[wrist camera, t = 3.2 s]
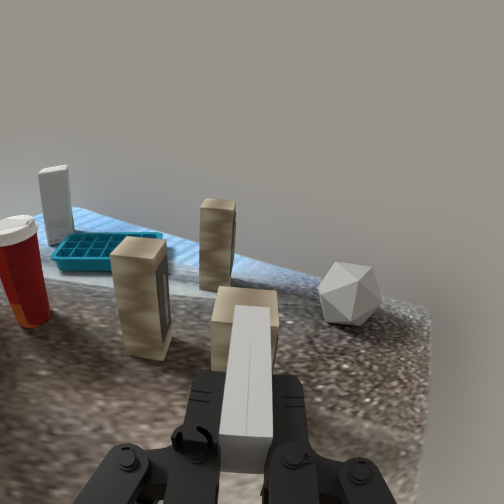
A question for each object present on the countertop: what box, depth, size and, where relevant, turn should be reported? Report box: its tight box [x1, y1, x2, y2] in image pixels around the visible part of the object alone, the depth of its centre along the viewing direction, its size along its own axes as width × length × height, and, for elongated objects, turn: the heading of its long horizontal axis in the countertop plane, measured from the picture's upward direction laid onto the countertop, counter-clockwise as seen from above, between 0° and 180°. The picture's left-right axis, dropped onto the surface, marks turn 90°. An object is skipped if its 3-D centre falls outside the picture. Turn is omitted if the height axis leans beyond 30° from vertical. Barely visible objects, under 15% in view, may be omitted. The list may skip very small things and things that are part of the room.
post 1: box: [110, 236, 172, 361], centre depth 32 cm, size 5×4×13 cm
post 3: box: [211, 286, 279, 374], centre depth 25 cm, size 5×4×13 cm
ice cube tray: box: [51, 232, 163, 271], centre depth 54 cm, size 12×20×3 cm, turn 100°
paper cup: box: [0, 215, 50, 328], centre depth 33 cm, size 8×8×14 cm
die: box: [318, 262, 382, 326], centre depth 42 cm, size 8×9×10 cm
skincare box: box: [38, 165, 75, 245], centre depth 57 cm, size 8×7×16 cm
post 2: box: [199, 199, 236, 291], centre depth 47 cm, size 5×4×13 cm
